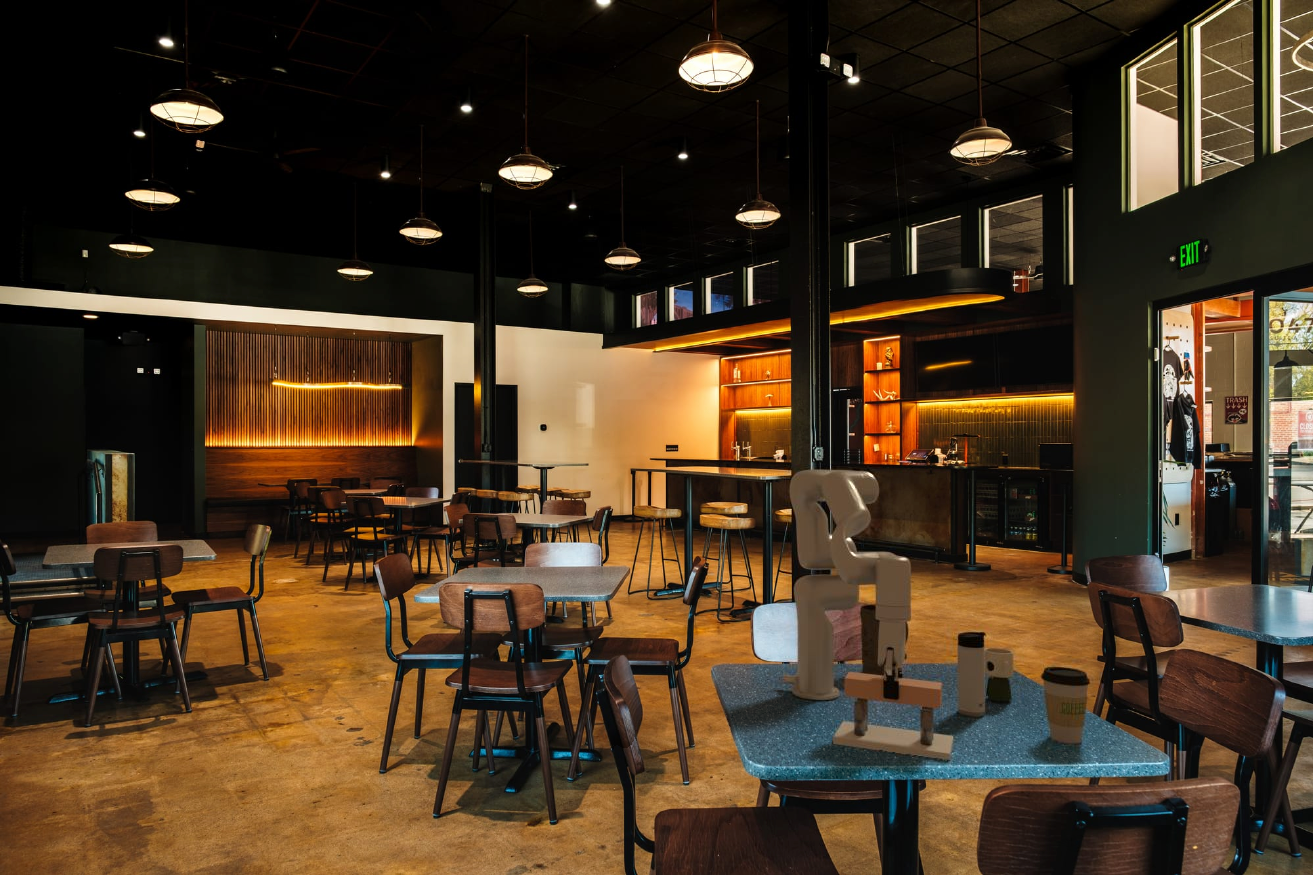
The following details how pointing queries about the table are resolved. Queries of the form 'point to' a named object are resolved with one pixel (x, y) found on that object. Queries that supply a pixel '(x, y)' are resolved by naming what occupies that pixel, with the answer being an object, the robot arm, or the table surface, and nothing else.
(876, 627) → the beer stein
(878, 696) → the shelf board
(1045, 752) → the table surface
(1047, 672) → the coffee cup
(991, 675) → the character mug
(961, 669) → the travel mug
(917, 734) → the peg base
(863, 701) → the steel pegs
